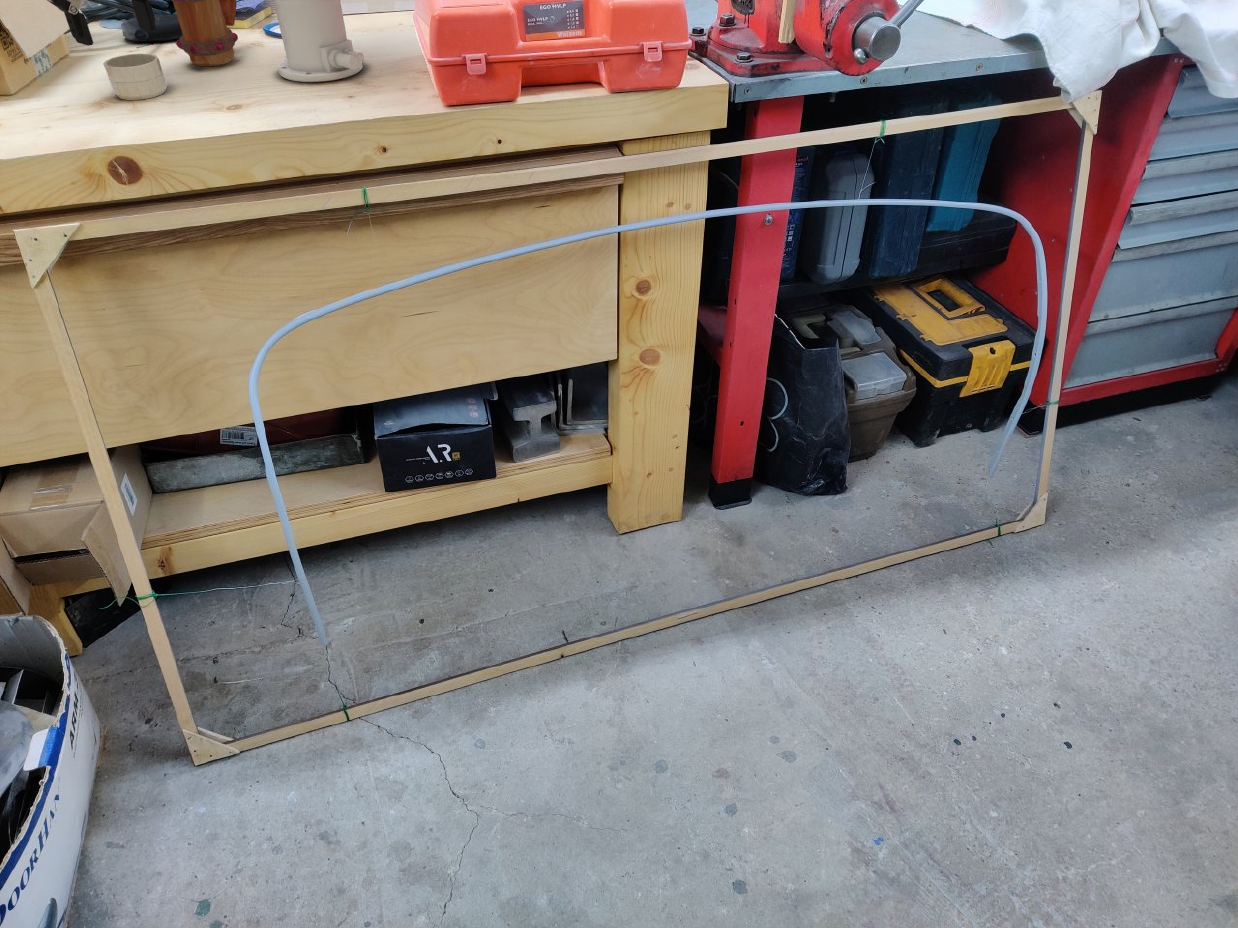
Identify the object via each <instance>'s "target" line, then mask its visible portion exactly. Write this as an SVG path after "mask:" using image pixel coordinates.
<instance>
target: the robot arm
mask: <svg viewBox="0 0 1238 928" xmlns="http://www.w3.org/2000/svg"><path fill="white" fill-rule="evenodd" d="M46 1H47V2H48V3H50V4H52V5H53V6H55V7H56V8H57V9H58V10H59V11H60V12H63V13H64V17H65V19H66V22H67V26H68V28H69V31H70V35H71V36H72V38H74V39H75V42H76V43H77V44H81V45H85V46H88V47H89V46H90V47H91V46H93V44H94V39H93V36H92V33H91V31H90V28H89V25H88V22H87V19H86V16H85V14H84V13H83V12H80V8H81V6H82V2H83V0H46ZM273 4H274V8H275V14H276V16H277V22H278V26H279V30H280V35H281V40H282V44H283V49H284V53H285V56H286V59H284V60H283V61H281V62H280V63H279V65H278V67H277V68H278V73H279V75H280V76H281V77H282V78H284V79H286V80H290V81H294V82H300V83H301V82H305V83H318V82H319V83H320V82H329V81H336V80H340V79H346V78H349V77H351V76H354V75H356V74H358V73H360V71H361V70H362V69H363V62H364V61H365V55H364V53H362V52H360V51H354V46H353V41H352V39H348V35H347V30H346V23H345V19H344V15H343V8H342V3H341V0H273ZM131 5H132V8H133V11H134V14H135V17H136V18H137V21H138V25H139V27H140V28H141V29H143V30H147V31H151V32H154V31H156V26H155V17H154V15H155V14H154V10H153V7H152V3H151V0H131Z"/></svg>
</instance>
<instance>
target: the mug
mask: <svg viewBox="0 0 1238 928" xmlns="http://www.w3.org/2000/svg"><path fill="white" fill-rule="evenodd" d="M170 1H171V2H172V3H173V7H174V10H175V13H176V15H177V16H178V20H179V23H180V27H181V30H182V34H183V35H182V36H181V38H178V39H176V41H175V45H176V47H178V49H180V50H182V51H183V52H185V53H186V54H187V55H188V56H189V60H190V62H191V63H192V64H193V65H196V66H199V67H218V66H223V65H226V64H228V63H230V62H231V61H232V60H233V59H234V58H235V49H234V46H235V45H236V42H237V41H238V40H239V36H238V34H237V33H236V32H233V31H232V29H231V28H229V27H234V26H235V22H236V16H237V15H236V13H237V0H170Z"/></svg>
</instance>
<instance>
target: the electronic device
mask: <svg viewBox="0 0 1238 928" xmlns="http://www.w3.org/2000/svg"><path fill="white" fill-rule="evenodd" d="M154 17H155V26H156V31H154V32H151V31H147V30H143V29H141V28H140V27H139V25H138V21H137V18H136V16H135V17H132V18H129V19H127V20H125V21H123V22H122V23H121V24H120V28H121V32H122V36H123V37H124V38H125V39H127V40H129V41H132V42H133V41H134V42H155V41H163V42H166V41H167V42H168V41H172V40H175V39H176V40H178V39H180V38H181V36H182V35H183V34H182V30H181V27H180V23H179V20H178V16H177V14H154Z"/></svg>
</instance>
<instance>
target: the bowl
mask: <svg viewBox="0 0 1238 928" xmlns="http://www.w3.org/2000/svg"><path fill="white" fill-rule="evenodd" d="M103 67H104V70H105V73H106V76H107V78H108V81H109V84H110V87H111V89H112V92H113V94H114V95H115V96H117V97H118V98H119V99H121V100H126V101H139V100H147V99H152V98H156V97H159V96H161V95H164V93H166V89H167V87H168V84H167V81H166V78H165V75H164V71H163V68H162V64H161V62H160V59H159V57H158V56H157V55H156V54H152V53H129V54H122V55H118V56H114V57H111V58H109V59H106V60H104V62H103Z"/></svg>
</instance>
